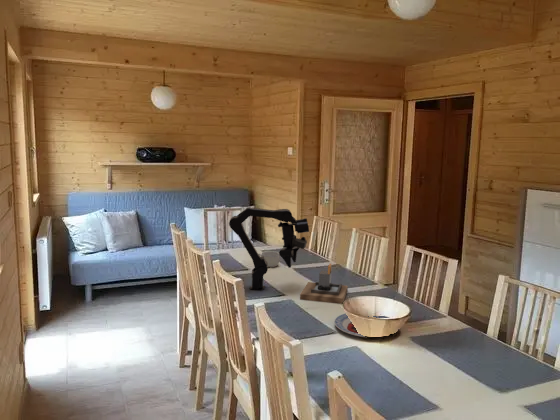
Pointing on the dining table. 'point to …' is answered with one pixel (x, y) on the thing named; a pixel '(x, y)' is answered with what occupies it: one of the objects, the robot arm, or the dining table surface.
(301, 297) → the dock
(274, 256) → the teacup
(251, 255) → the robot arm
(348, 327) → the ceramic plate
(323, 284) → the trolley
